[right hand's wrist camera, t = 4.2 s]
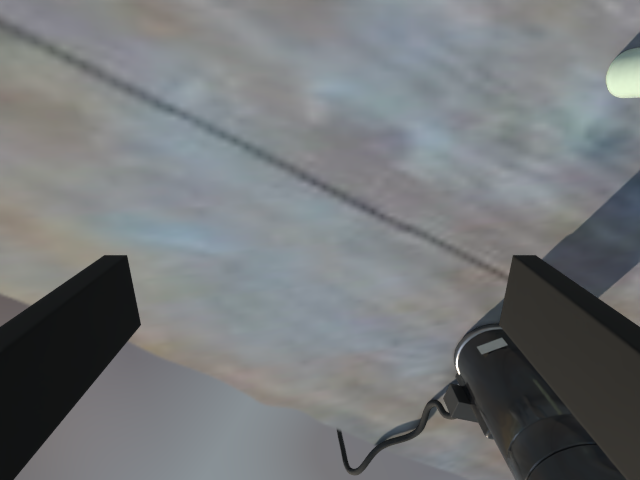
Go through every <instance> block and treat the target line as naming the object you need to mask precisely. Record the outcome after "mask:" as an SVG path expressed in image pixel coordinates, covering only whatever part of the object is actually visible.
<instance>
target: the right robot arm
mask: <svg viewBox="0 0 640 480" xmlns="http://www.w3.org/2000/svg"><path fill="white" fill-rule="evenodd" d="M140 325H141V323H140V318H139V313H138V308H137V303H136V298H135V293H134V288H133V283H132V278H131V273H130V268H129V263H128V258H127V255H104V256H103V257H101V258H100V259H98V260H97V261H96V262H94V263H93V264H91V265H90V266H88V267H87V268H85V269H84V270H82V271H81V272H80V273H78V274H77V275H75V276H74V277H72V278H71V279H69V280H68V281H66V282H65V283H64V284H62V285H61V286H59V287H58V288H56V289H55V290H53V291H52V292H50V293H49V294H48V295H46V296H45V297H43V298H42V299H40V300H39V301H37V302H36V303H34V304H33V305H32V306H30V307H29V308H27V309H26V310H24V311H23V312H21V313H20V314H18V315H17V316H16V317H14V318H13V319H11V320H10V321H8V322H7V323H5V324H4V325H3V326H1V327H0V480H14V478H15V477H16V476H17V475H18V474H19V472H20V471H21V470H22V469H23V468H24V466H25V465H26V464H27V463H28V461H29V460H30V459H31V458H32V457H33V455H34V454H35V453H36V452H37V451H38V449H39V448H40V447H41V446H42V444H43V443H44V442H45V441H46V440H47V438H48V437H49V436H50V435H51V434H52V432H53V431H54V430H55V429H56V427H57V426H58V425H59V424H60V423H61V421H62V420H63V419H64V418H65V416H66V415H67V414H68V413H69V412H70V410H71V409H72V408H73V407H74V406H75V404H76V403H77V402H78V401H79V399H80V398H81V397H82V396H83V395H84V393H85V392H86V391H87V390H88V389H89V387H90V386H91V385H92V384H93V382H94V381H95V380H96V379H97V378H98V376H99V375H100V374H101V373H102V372H103V370H104V369H105V368H106V367H107V365H108V364H109V363H110V362H111V361H112V359H113V358H114V357H115V356H116V355H117V353H118V352H119V351H120V350H121V348H122V347H123V346H124V345H125V344H126V342H127V341H128V340H129V339H130V337H131V336H132V335H133V334H134V333H135V331H136V330H137V329H138V328H139V327H140ZM499 325H500V327H501V328H502V329H503V330H504V331H505V333H506V334H507V335H508V336H509V337H510V339H511V340H512V341H513V342H514V344H515V345H516V346H517V347H518V348H519V350H520V351H521V352H522V353H523V355H524V356H525V357H526V358H527V359H528V361H529V362H530V363H531V364H532V365H533V367H534V368H535V369H536V370H537V372H538V373H539V374H540V375H541V376H542V378H543V379H544V380H545V381H546V382H547V384H548V385H549V386H550V387H551V389H552V390H553V391H554V392H555V393H556V395H557V396H558V397H559V398H560V399H561V401H562V402H563V403H564V404H565V406H566V407H567V408H568V409H569V410H570V412H571V413H572V414H573V415H574V417H575V418H576V419H577V420H578V421H579V423H580V424H581V425H582V426H583V427H584V429H585V430H586V431H587V432H588V434H589V435H590V436H591V437H592V438H593V440H594V441H595V442H596V443H597V444H598V446H599V447H600V448H601V449H602V451H603V452H604V453H605V454H606V455H607V457H608V458H609V459H610V460H611V461H612V463H613V464H614V465H615V466H616V468H617V469H618V470H619V471H620V472H621V474H622V475H623V476H624V477H625V478H626V480H640V327H639V326H638V325H636V324H635V323H633V322H632V321H630V320H629V319H627V318H626V317H624V316H623V315H622V314H620V313H619V312H617V311H616V310H614V309H613V308H611V307H610V306H608V305H607V304H606V303H604V302H603V301H601V300H600V299H598V298H597V297H595V296H594V295H592V294H591V293H590V292H588V291H587V290H585V289H584V288H582V287H581V286H579V285H578V284H576V283H575V282H574V281H572V280H571V279H569V278H568V277H566V276H565V275H563V274H562V273H560V272H559V271H558V270H556V269H555V268H553V267H552V266H550V265H549V264H547V263H546V262H544V261H543V260H542V259H540V258H539V257H537V256H536V255H513V258H512V263H511V268H510V273H509V278H508V283H507V288H506V293H505V298H504V303H503V308H502V313H501V318H500V323H499Z"/></svg>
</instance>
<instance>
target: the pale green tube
mask: <svg viewBox="0 0 640 480" xmlns="http://www.w3.org/2000/svg"><path fill="white" fill-rule="evenodd" d="M606 84H607V88H608V90H609V91H610V92H611V93H612V94H613V95H614V96H616V97H620V98H635V97H640V47H638V48H633V49H629V50H626V51H625V52H623V53H621V54H620V55H619V56H617V57H616V58H615V60H614V61H613V62H612V63H611V65H610V67H609V69H608V72H607V76H606Z"/></svg>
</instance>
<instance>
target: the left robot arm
mask: <svg viewBox="0 0 640 480" xmlns="http://www.w3.org/2000/svg"><path fill="white" fill-rule="evenodd" d="M454 364H455V367H456V369H457V374H456V379H457V381H458V383H459V385H455V384H450V385H449V387H448V389H447V391H446V394H445V396H444V398H443V399H444V401H445V404H446V406H447V408H448V411H449V413H448V412H446V411H445V409H444V407H443V405H442V404H441V403H440V402H439V401H437V400H432V401H430V402H428V403H427V405H426V407H425V409H424V411H423V414H422V418H421V421H420V424H419V425H418V427H417V428H416V429H415V430H414V431H412V432H410V433H408V434H406V435H403V436H399V437H395V438H392V439H389V440H386V441H384V442H382V443H380V444H379V445H377V446H376V447H375V448H374V449H373V450H372V451H371V452H370V453H369V454H368V456H367V457H366V458H365V460H364V461H363V463H362V464H361V465H360V466H359V467H358V468H356V469H352V468H351V467H350V466H349V463H348V459H347V454H346V449H345V445H344V441H343V436H342V431H341V430H339V429H337V435H338V440H339V444H340V449H341V454H342V460H343V464H344V467H345V469H346V471H347V472H348V473H349V474H351V475H359V474H360V473H362V472H363V471H364V470H365V468H366V467H367V466H368V464H369V463H370V462H371V460H372V459H373V458H374V457H375V455H376V454H377V453H378V452H379V451H381V450H382V449H384V448H386V447H388V446H391V445H394V444H398V443H401V442H405V441H408V440H410V439H413V438H414V437H416V436H417V435H419V434H420V433H421V432H422V431H423V429H424V427H425V425H426V423H427V419H428V416H429V412H430V410H431V408H432V407H437V409H438V410H439V412H440V414H441V415H442V416H443V417H444V418H446V419H456V418H458V419H463V420H468V421H473V422H478V423H479V425H480V427H481V429H482V431H483V433H484V435H485V436H486V437H487V438H489V439H494V440H495V442H496V444H497V446H498V448H499V450H500V452H501V454H502V455H503V457H504V459H505V461H506V463H507V465H508V467H509V469H510V471H511V472H512V474H513V476H514V478H515V480H626V478H625V477H624V476H623V475H622V474H621V472H620V471H619V470H618V469H617V468H616V466H615V465H614V464H613V463H612V461H611V460H610V459H609V458H608V457H607V455H606V454H605V453H604V452H603V451H602V449H601V448H600V447H599V446H598V444H597V443H596V442H595V441H594V440H593V438H592V437H591V436H590V435H589V434H588V432H587V431H586V430H585V429H584V427H583V426H582V425H581V424H580V423H579V421H578V420H577V419H576V418H575V417H574V415H573V414H572V413H571V412H570V410H569V409H568V408H567V407H566V406H565V404H564V403H563V402H562V401H561V399H560V398H559V397H558V396H557V395H556V393H555V392H554V391H553V390H552V389H551V387H550V386H549V385H548V384H547V382H546V381H545V380H544V379H543V378H542V376H541V375H540V374H539V373H538V372H537V370H536V369H535V368H534V367H533V365H532V364H531V363H530V362H529V361H528V359H527V358H526V357H525V356H524V355H523V353H522V352H521V351H520V350H519V348H518V347H517V346H516V345H515V344H514V342H513V341H512V340H511V339H510V337H509V336H508V335H507V334H506V333H505V331H504V330H503V329H502V328H501V327H500V325H499V324H490V325H485V326H482V327H479V328H477V329H475V330H473V331H471V332H470V333H468V334H467V335H466V336H465V337H464V338H463V339H462V340H461V341H460V342H459V344H458V346H457V347H456V350H455V353H454Z"/></svg>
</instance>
